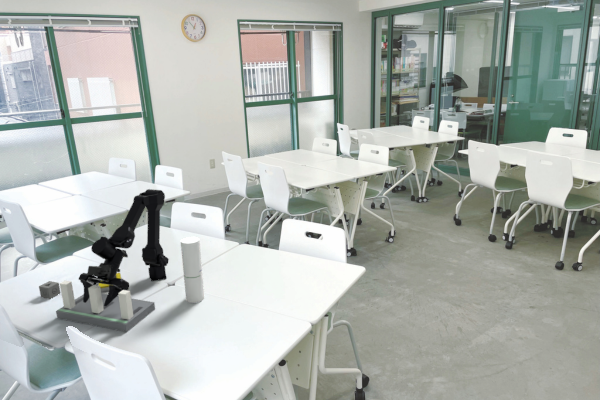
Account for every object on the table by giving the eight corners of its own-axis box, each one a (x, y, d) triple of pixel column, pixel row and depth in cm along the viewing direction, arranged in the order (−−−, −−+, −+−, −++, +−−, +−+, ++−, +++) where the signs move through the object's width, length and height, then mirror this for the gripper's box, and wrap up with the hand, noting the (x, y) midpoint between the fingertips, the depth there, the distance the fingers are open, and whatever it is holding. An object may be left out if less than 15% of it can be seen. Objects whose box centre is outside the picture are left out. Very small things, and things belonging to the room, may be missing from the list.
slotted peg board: (89, 297, 175) (84, 268, 172) (155, 309, 166) (151, 278, 163) (57, 318, 161) (51, 286, 157) (127, 332, 152) (122, 298, 148)
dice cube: (40, 297, 176) (38, 286, 175) (51, 291, 181) (49, 281, 180) (50, 299, 175) (48, 288, 174) (60, 293, 179) (58, 282, 178)
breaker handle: (97, 308, 161) (93, 285, 158) (103, 310, 160) (100, 286, 157) (92, 312, 158) (88, 288, 156) (98, 313, 157) (95, 289, 155)
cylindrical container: (207, 295, 176) (203, 237, 169) (198, 304, 169) (193, 244, 163) (192, 293, 178) (187, 235, 171) (182, 301, 172) (176, 242, 165)
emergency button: (120, 268, 193) (122, 282, 180) (121, 277, 194) (123, 292, 181) (97, 272, 189) (97, 287, 176) (98, 281, 191) (99, 296, 177)
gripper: (78, 252, 160) (58, 293, 153) (120, 258, 155) (102, 301, 147) (96, 263, 169) (79, 303, 162) (137, 269, 164) (120, 310, 157)
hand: (94, 304), depth 157 cm, fingers open, 9 cm apart
